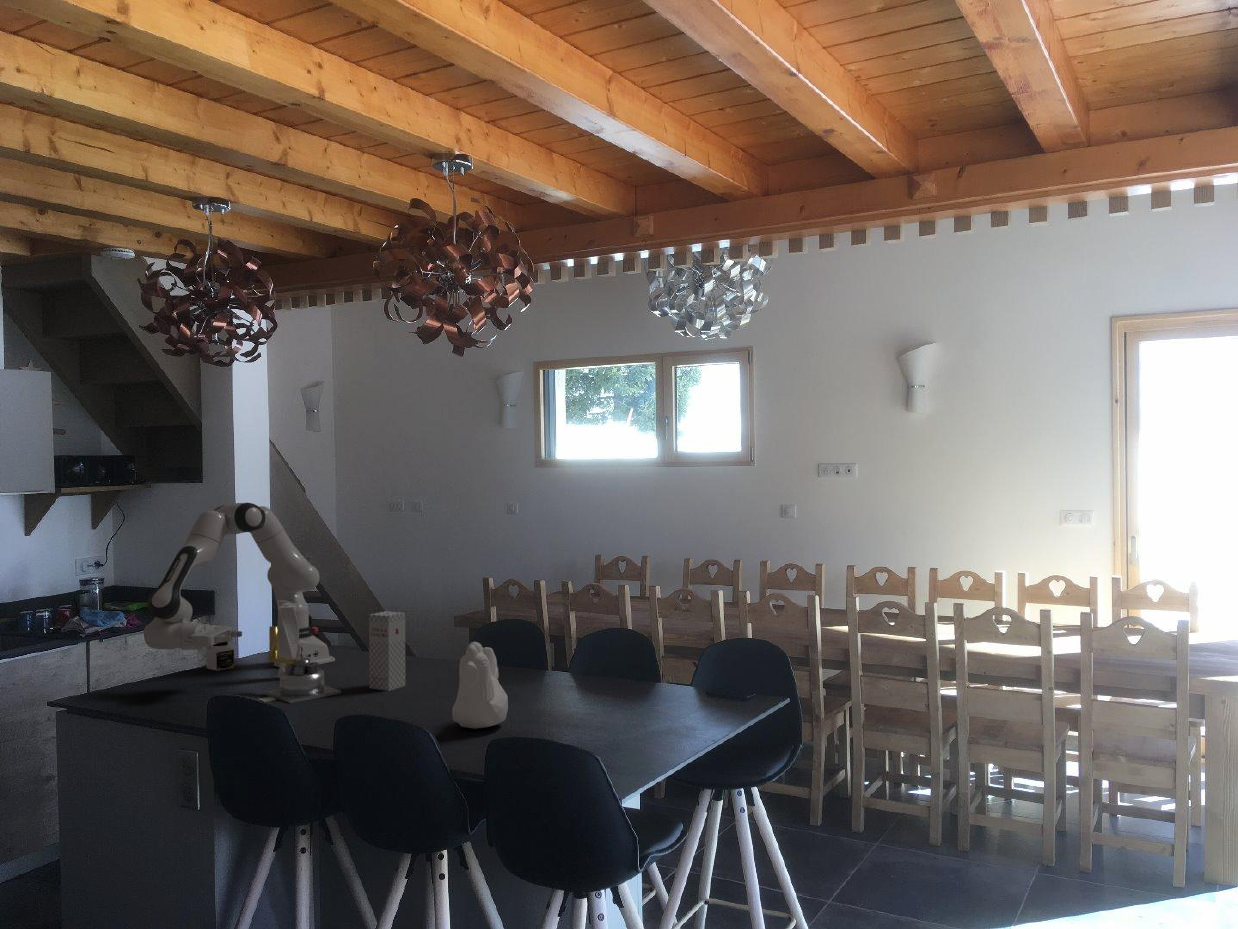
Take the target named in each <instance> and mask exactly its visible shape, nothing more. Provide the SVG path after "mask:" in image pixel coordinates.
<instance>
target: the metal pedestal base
mask: <svg viewBox="0 0 1238 929" xmlns="http://www.w3.org/2000/svg"><path fill="white" fill-rule="evenodd" d="M262 692H263V695H264V696H266V697H272V698H275V699H276V700H280V701H283V702H284V703H289V704H294V703H298V702H299V703H300V702H304V701H310V700H315V699H320V698H325V697H330V696H331V697H332V696H335V695H340V694H342V691H341V689H338V688H333V687H330V686H327V685H325V670H324V669H320V668H319V671H317V673H313V674H307V673H304V675H294V671H293V674H289V675H288V674H286V673H285V671H284V672H282V673H280V679H279V688H275V689H269V690H263V691H262Z"/></svg>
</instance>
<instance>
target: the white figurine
mask: <svg viewBox="0 0 1238 929" xmlns="http://www.w3.org/2000/svg"><path fill="white" fill-rule="evenodd" d="M458 666H459V667H458V669H459V670H458V671H459V684H458V685H459V686H458V692H457V694H456V700H455V701H454V704H453V706H452V709H451V710H452V711H451V712H452V714H451V715H452V720H453V721H454V723H457V724H458V725H459V726H460V727H463V728H468V729H469V728H470V729H482V728H488V727H492V726H496V725H499V724H501V723H502V722H504V721H506V718H507V714H508V710H509V700H508V699H509V698H508V696H509V695H507V693H506V691H505V690H504V688H503V687H502V686H501V684H500V682H499V680H498V679H499V667H498V660H497V657H496V654H495V652H494V650H493V648H491V647H487V646H485V647H483V645H482V644H481V643H479V642H477V641H472V642H470V643H469V644H468V645H467V648H466V650H465V654H463V656H461V658H460V661H459V665H458Z"/></svg>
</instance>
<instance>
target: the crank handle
mask: <svg viewBox="0 0 1238 929" xmlns="http://www.w3.org/2000/svg"><path fill="white" fill-rule="evenodd" d="M268 628H269V629H268V630H269V633H268V634H269V636H268V637H269V638H268V639H269V641H268V642H269V645H268V646H269V647H268V648H269V657H268V662H269V663H273V664H274V663H284V664H287V665H286V666H285V673H286V674H288V675H289V674H293V671H294V675H304V673H307V674H313V673H317V671H319V669H320V668H319V667H320V664H319V663H317V662H311V665H310V659H308V658H300V659H298V658H287V657H278V626H277V625H271V626H269V627H268Z"/></svg>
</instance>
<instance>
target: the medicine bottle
mask: <svg viewBox="0 0 1238 929" xmlns="http://www.w3.org/2000/svg"><path fill="white" fill-rule="evenodd" d="M234 668H235V649H234V648H230V642H220V643H217V644H215V645H212V646H211V648H207V649H206V669H209V670H211V671H215V672H217V671H222V670H223V671H224V670H228V669H234Z"/></svg>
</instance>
